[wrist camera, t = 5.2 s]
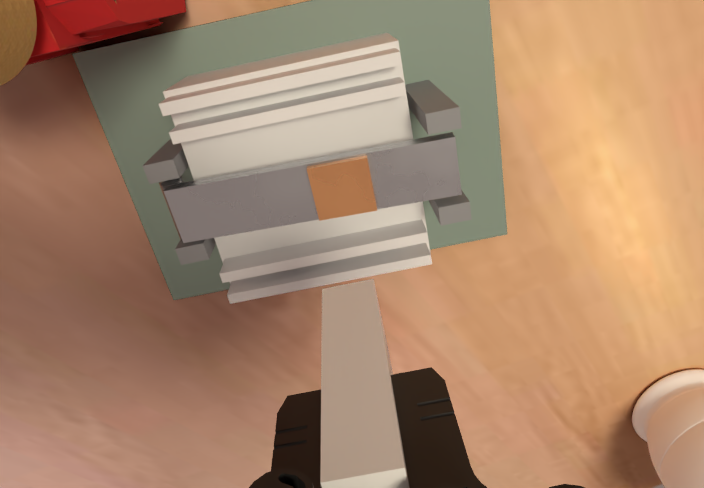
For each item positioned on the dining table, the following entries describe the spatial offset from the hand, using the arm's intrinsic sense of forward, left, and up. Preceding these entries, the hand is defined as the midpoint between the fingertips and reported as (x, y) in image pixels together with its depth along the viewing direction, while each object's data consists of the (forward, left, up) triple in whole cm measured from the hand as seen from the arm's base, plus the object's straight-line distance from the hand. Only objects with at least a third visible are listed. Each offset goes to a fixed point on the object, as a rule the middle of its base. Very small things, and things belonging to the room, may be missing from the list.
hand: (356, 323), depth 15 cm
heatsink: (0, -2, -21) cm, 21 cm away
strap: (0, -2, -14) cm, 14 cm away
